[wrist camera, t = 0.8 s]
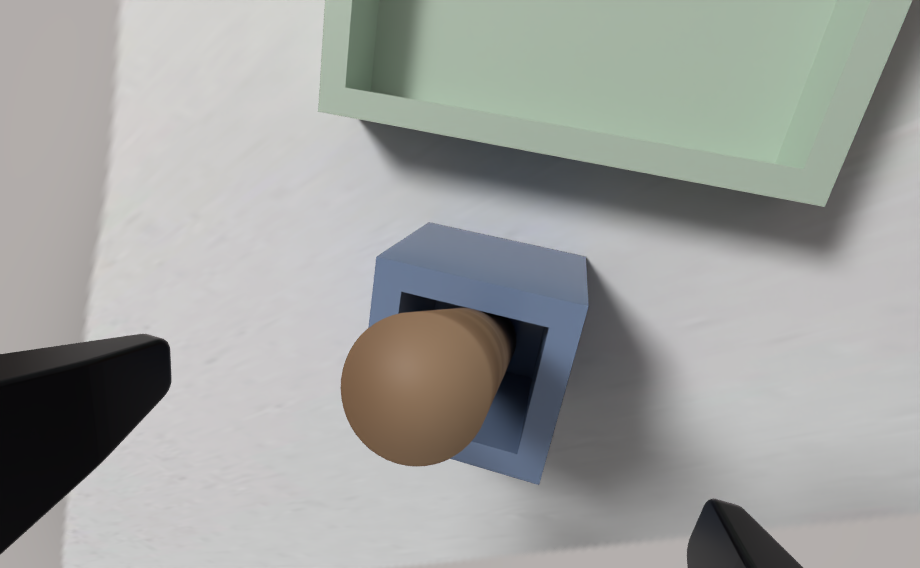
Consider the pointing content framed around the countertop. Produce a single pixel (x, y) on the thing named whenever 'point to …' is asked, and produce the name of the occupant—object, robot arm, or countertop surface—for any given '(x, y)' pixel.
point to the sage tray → (624, 80)
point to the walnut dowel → (425, 382)
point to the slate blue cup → (505, 294)
